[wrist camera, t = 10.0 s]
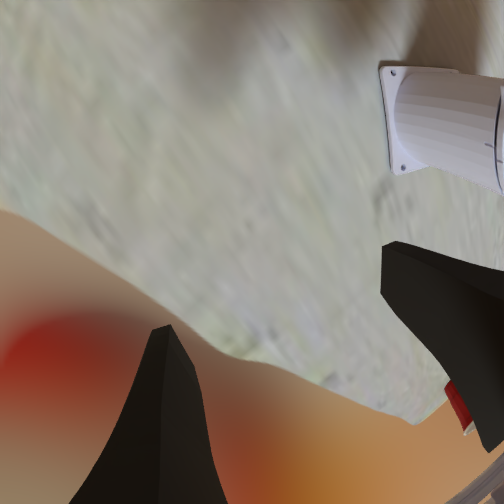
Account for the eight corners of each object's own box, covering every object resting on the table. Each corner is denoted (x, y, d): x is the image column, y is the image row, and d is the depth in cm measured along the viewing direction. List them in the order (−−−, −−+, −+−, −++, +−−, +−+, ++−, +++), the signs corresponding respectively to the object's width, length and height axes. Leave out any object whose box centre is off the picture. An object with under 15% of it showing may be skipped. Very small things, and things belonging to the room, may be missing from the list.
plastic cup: (469, 355, 43) (505, 393, 32) (473, 366, 48) (504, 400, 38) (429, 395, 44) (462, 437, 34) (439, 401, 50) (467, 437, 39)
